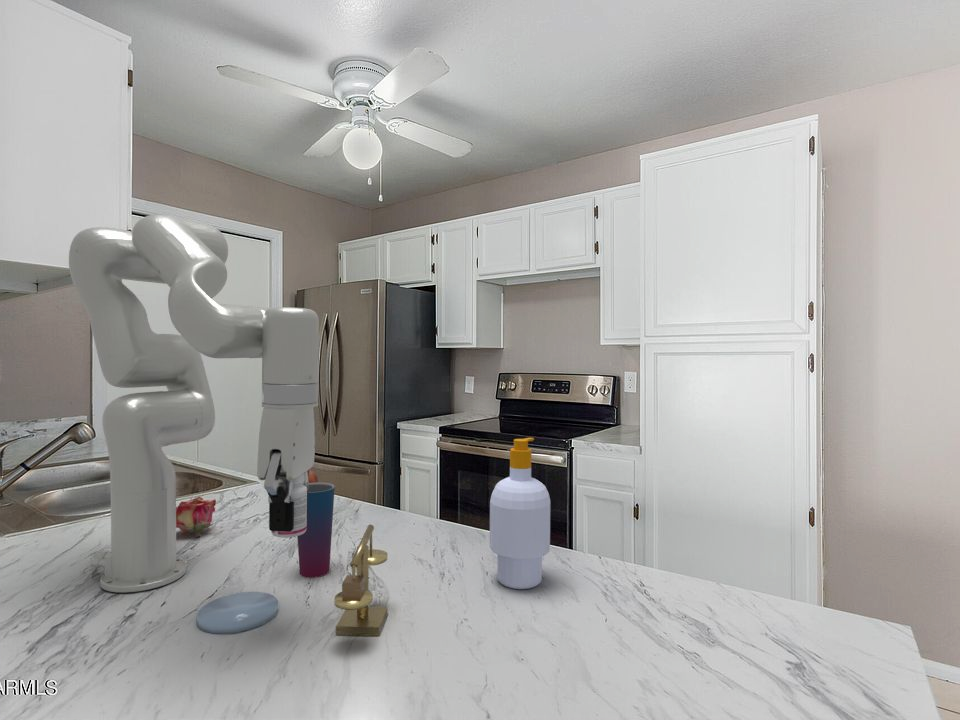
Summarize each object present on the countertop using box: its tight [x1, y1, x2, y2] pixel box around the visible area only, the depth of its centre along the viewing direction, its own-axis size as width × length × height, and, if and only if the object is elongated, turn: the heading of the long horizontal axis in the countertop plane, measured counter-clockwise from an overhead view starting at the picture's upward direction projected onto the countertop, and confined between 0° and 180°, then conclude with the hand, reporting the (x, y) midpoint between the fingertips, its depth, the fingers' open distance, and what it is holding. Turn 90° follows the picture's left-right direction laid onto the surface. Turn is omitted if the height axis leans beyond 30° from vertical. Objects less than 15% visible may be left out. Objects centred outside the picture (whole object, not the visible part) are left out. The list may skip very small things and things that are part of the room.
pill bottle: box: [270, 473, 307, 539], centre depth 79 cm, size 5×5×8 cm
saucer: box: [196, 591, 279, 635], centre depth 82 cm, size 11×11×1 cm
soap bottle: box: [489, 437, 551, 590], centre depth 95 cm, size 10×10×24 cm
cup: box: [296, 482, 336, 579], centre depth 98 cm, size 7×7×15 cm
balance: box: [333, 524, 389, 637], centre depth 80 cm, size 6×15×13 cm, turn 178°
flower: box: [176, 496, 221, 539], centre depth 117 cm, size 10×9×8 cm
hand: (289, 522), depth 79 cm, fingers closed on pill bottle, 4 cm apart
